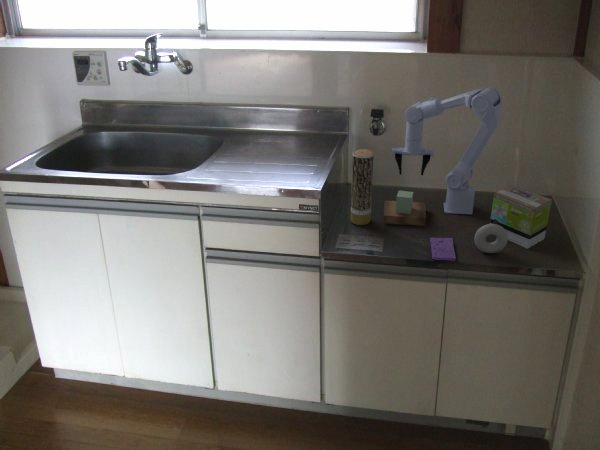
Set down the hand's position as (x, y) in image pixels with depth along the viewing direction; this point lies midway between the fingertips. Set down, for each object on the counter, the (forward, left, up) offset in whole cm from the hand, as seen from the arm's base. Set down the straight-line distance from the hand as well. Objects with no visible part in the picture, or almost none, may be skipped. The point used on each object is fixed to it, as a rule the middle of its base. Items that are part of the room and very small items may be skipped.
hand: (411, 173), depth 231 cm
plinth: (+2, +16, -9) cm, 19 cm away
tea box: (-34, +26, -10) cm, 44 cm away
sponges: (-10, +38, -10) cm, 41 cm away
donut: (-24, +38, -10) cm, 46 cm away
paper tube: (+17, +21, -10) cm, 29 cm away
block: (+2, +17, -6) cm, 18 cm away
